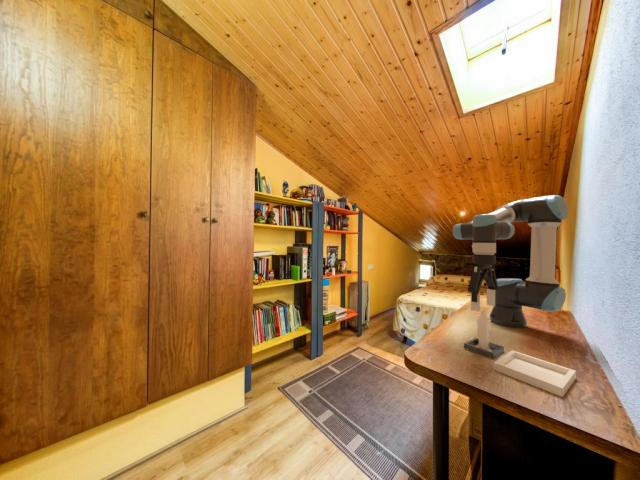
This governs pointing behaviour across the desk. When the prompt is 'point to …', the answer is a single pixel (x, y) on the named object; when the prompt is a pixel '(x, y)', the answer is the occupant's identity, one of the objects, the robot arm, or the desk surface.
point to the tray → (536, 372)
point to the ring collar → (493, 354)
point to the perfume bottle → (483, 330)
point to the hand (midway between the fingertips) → (483, 308)
